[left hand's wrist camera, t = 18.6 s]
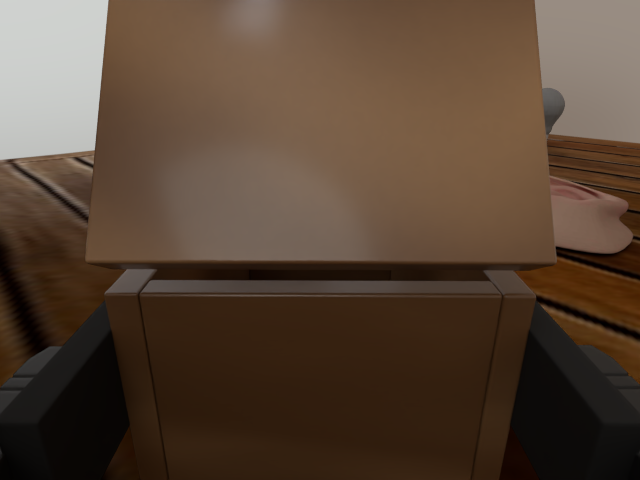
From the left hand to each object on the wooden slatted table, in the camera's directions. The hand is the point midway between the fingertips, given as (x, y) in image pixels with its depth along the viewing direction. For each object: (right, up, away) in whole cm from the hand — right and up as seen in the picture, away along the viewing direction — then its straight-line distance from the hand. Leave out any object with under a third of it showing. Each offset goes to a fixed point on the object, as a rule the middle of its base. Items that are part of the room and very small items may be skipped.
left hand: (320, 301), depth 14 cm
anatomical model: (+21, +3, +27) cm, 34 cm away
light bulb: (+39, +18, +66) cm, 78 cm away
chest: (0, -5, +6) cm, 8 cm away
